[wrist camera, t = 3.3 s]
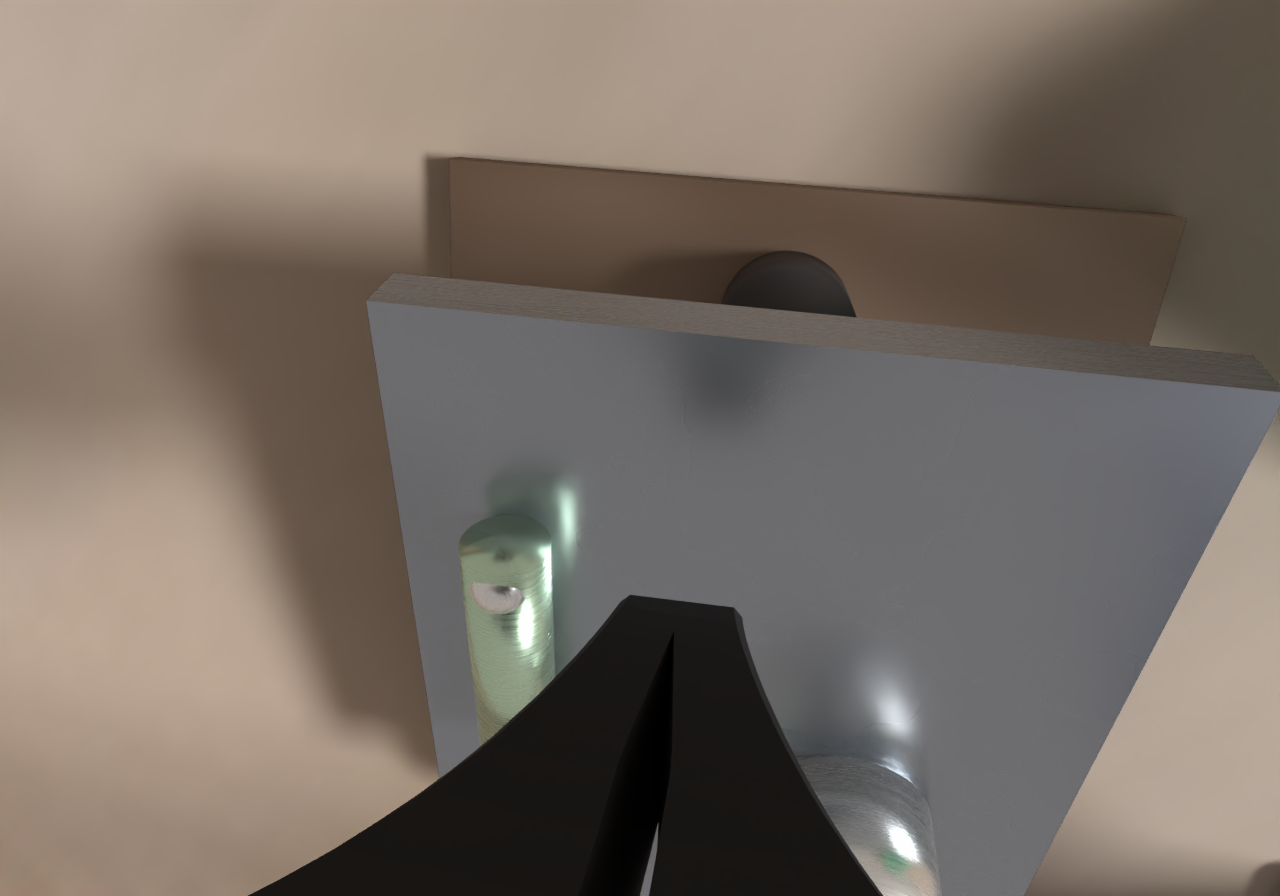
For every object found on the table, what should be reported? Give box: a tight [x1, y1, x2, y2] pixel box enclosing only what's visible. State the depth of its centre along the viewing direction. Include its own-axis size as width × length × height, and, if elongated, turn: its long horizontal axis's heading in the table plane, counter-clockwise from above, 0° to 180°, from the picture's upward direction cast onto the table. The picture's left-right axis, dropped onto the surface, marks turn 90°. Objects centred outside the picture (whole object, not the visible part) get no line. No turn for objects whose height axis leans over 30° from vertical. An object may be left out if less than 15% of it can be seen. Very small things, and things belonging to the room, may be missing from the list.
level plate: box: [366, 273, 1280, 896], centre depth 15 cm, size 14×12×4 cm
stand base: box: [449, 157, 1186, 345], centre depth 19 cm, size 16×14×3 cm
